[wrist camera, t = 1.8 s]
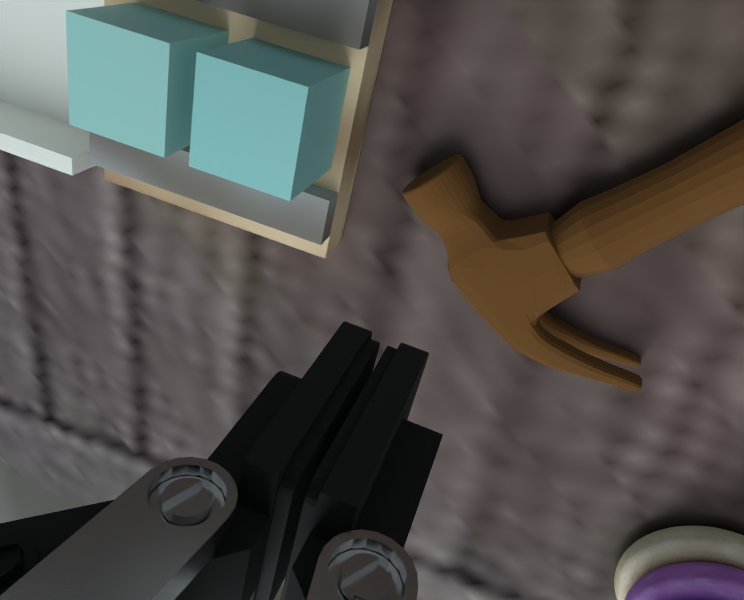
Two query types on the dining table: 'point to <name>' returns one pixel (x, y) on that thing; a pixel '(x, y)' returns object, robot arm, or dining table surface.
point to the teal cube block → (266, 115)
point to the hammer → (570, 246)
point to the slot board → (333, 190)
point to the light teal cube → (135, 73)
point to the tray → (39, 85)
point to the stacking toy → (683, 565)
